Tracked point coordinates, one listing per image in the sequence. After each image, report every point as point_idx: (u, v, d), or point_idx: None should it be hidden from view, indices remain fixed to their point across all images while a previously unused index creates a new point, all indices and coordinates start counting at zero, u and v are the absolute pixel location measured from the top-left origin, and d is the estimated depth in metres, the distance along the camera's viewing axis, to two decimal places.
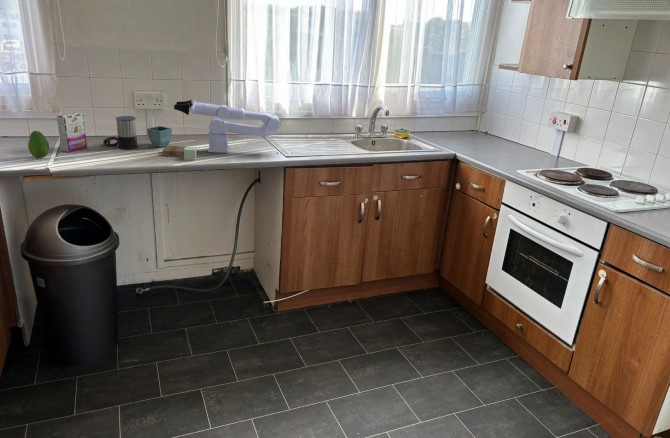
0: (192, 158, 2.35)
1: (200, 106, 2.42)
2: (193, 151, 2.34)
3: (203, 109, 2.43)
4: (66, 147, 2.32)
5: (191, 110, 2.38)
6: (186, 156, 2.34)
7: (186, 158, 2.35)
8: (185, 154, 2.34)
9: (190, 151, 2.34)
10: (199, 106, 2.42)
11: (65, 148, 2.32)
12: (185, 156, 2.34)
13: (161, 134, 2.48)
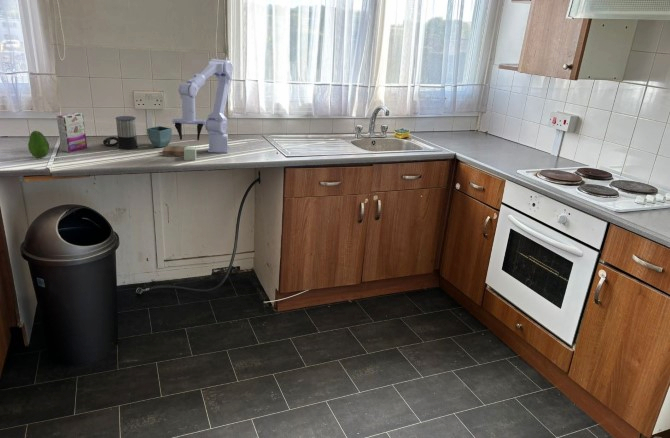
0: (192, 158, 2.35)
1: (194, 114, 2.29)
2: (193, 151, 2.34)
3: (194, 110, 2.29)
4: (66, 147, 2.32)
5: (205, 122, 2.32)
6: (186, 156, 2.34)
7: (186, 158, 2.35)
8: (185, 154, 2.34)
9: (190, 151, 2.34)
10: (193, 115, 2.29)
11: (65, 148, 2.32)
12: (185, 156, 2.34)
13: (161, 134, 2.48)
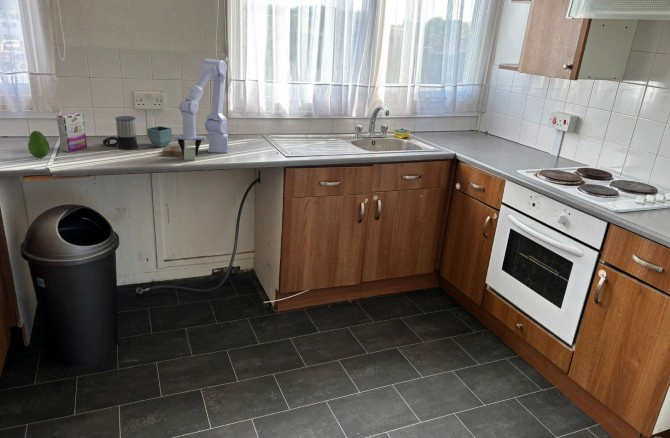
0: (192, 158, 2.35)
1: (194, 131, 2.32)
2: (193, 151, 2.34)
3: (195, 127, 2.32)
4: (66, 147, 2.32)
5: (205, 138, 2.35)
6: (186, 156, 2.34)
7: (186, 158, 2.35)
8: (185, 154, 2.34)
9: (190, 151, 2.34)
10: (194, 131, 2.32)
11: (65, 148, 2.32)
12: (185, 156, 2.34)
13: (161, 134, 2.48)
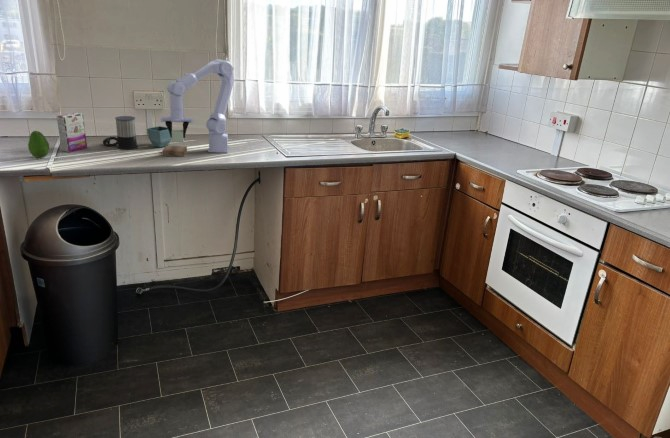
0: (180, 140, 2.37)
1: (182, 112, 2.34)
2: (181, 133, 2.36)
3: (182, 109, 2.34)
4: (66, 147, 2.32)
5: None
6: (174, 138, 2.36)
7: (174, 140, 2.36)
8: (173, 136, 2.36)
9: (178, 133, 2.36)
10: (181, 113, 2.34)
11: (65, 148, 2.32)
12: (173, 138, 2.36)
13: (161, 134, 2.48)
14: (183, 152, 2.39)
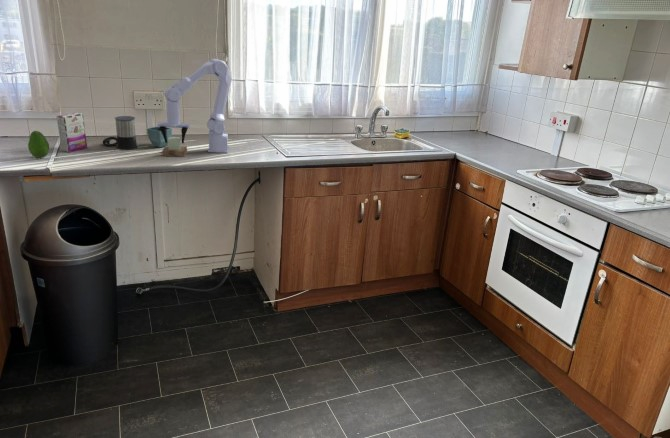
0: (176, 148, 2.40)
1: (178, 118, 2.36)
2: (177, 141, 2.39)
3: (179, 114, 2.36)
4: (66, 147, 2.32)
5: (189, 125, 2.40)
6: (170, 146, 2.39)
7: (170, 148, 2.40)
8: (169, 144, 2.39)
9: (174, 141, 2.39)
10: (178, 119, 2.36)
11: (65, 148, 2.32)
12: (169, 146, 2.39)
13: (161, 134, 2.48)
14: (183, 152, 2.39)
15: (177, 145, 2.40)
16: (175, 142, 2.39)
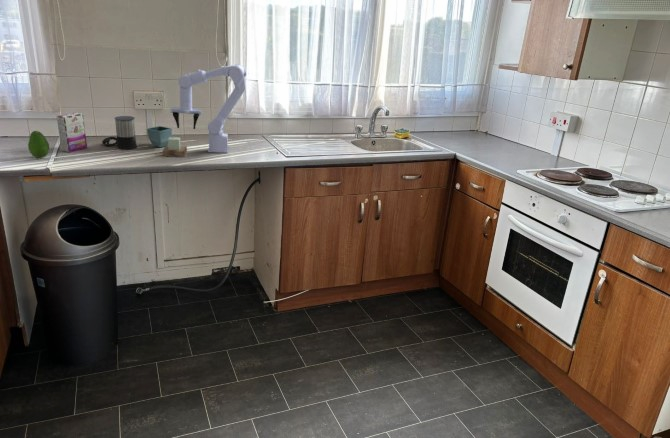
0: (176, 148, 2.40)
1: (191, 104, 2.44)
2: (177, 141, 2.39)
3: (191, 101, 2.45)
4: (66, 147, 2.32)
5: (201, 112, 2.48)
6: (170, 146, 2.39)
7: (170, 148, 2.40)
8: (169, 144, 2.39)
9: (174, 141, 2.39)
10: (190, 105, 2.44)
11: (65, 148, 2.32)
12: (169, 146, 2.39)
13: (161, 134, 2.48)
14: (183, 152, 2.39)
15: (177, 145, 2.40)
16: (175, 142, 2.39)
